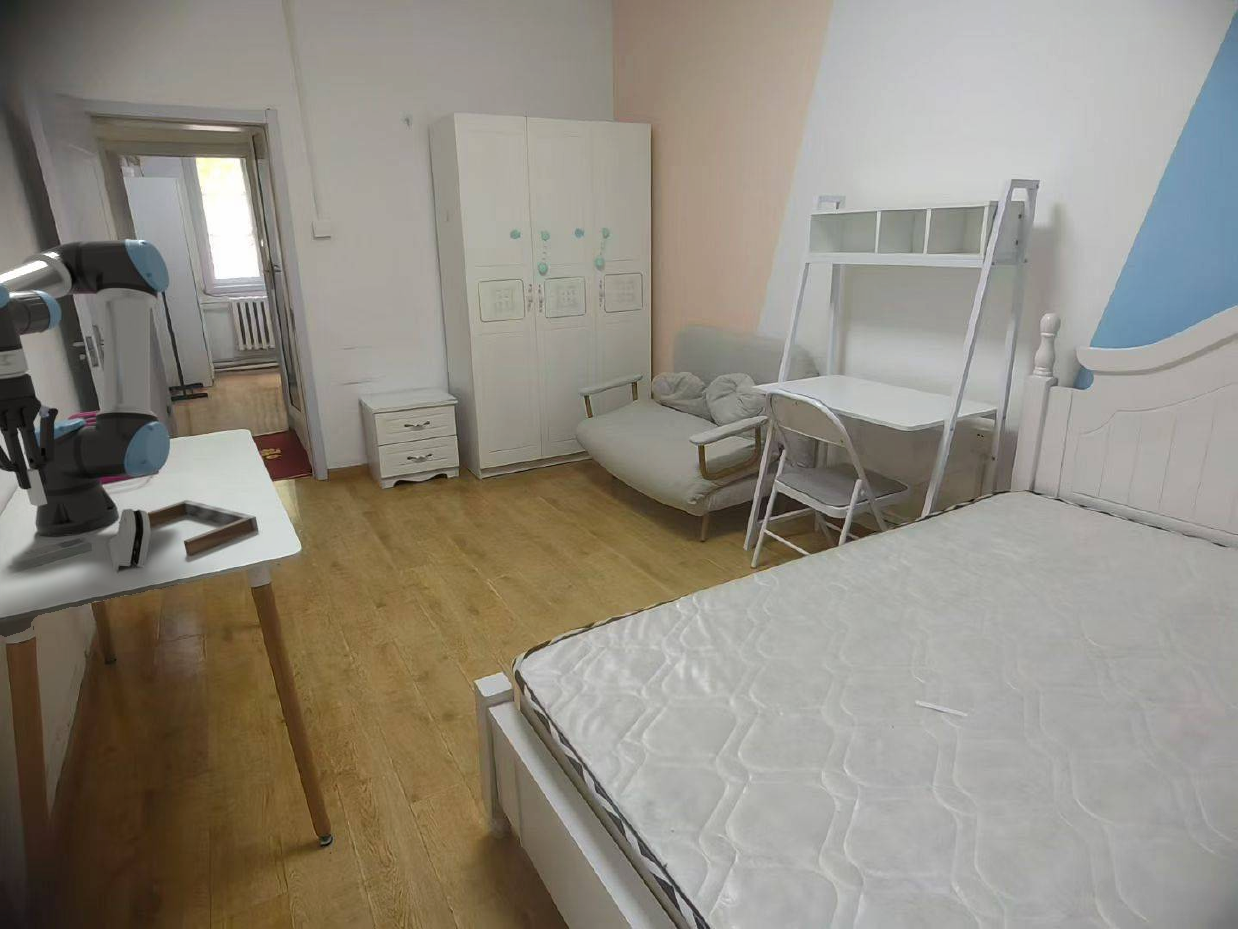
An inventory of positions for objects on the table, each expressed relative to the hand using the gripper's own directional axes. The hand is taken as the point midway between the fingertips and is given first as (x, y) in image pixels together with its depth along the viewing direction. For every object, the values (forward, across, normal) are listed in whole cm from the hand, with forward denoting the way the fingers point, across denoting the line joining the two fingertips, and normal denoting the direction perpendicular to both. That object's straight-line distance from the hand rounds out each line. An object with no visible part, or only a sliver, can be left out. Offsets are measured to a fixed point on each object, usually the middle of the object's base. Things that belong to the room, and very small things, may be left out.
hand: (39, 503), depth 134 cm
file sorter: (+15, +44, +66) cm, 81 cm away
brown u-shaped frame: (+15, +25, 0) cm, 29 cm away
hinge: (+16, +13, 0) cm, 20 cm away
